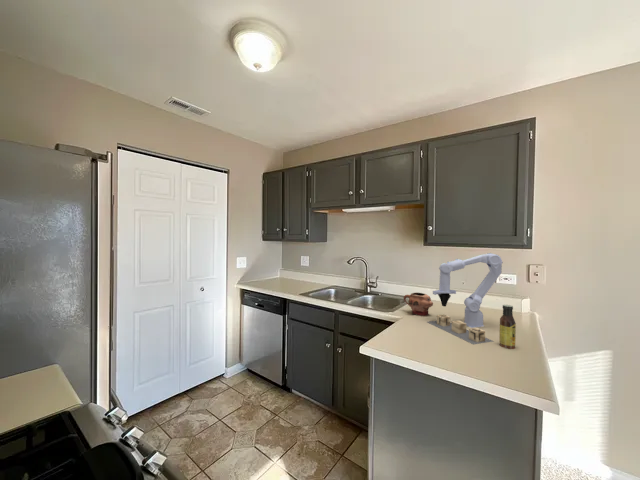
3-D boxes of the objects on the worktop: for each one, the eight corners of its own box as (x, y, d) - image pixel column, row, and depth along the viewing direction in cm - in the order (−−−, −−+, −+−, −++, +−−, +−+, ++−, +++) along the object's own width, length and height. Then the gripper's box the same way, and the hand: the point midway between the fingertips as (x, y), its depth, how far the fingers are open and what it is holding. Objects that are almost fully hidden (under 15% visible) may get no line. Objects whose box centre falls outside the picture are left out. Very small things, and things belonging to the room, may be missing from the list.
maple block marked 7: (476, 337, 137) (476, 327, 137) (485, 341, 133) (485, 330, 132) (468, 338, 136) (468, 328, 136) (477, 342, 131) (477, 332, 131)
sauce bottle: (515, 351, 122) (516, 308, 122) (499, 348, 126) (500, 306, 125) (514, 346, 128) (515, 305, 127) (499, 343, 131) (499, 303, 131)
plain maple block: (458, 329, 148) (459, 320, 148) (466, 332, 144) (466, 323, 143) (451, 330, 147) (451, 321, 147) (458, 333, 142) (458, 324, 142)
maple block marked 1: (443, 322, 159) (443, 314, 159) (450, 325, 155) (450, 316, 154) (436, 323, 158) (436, 314, 158) (442, 326, 153) (443, 317, 153)
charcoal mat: (443, 320, 165) (443, 319, 165) (494, 342, 132) (494, 341, 132) (426, 322, 161) (426, 321, 161) (473, 345, 129) (473, 344, 129)
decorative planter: (399, 313, 180) (399, 292, 179) (406, 309, 189) (406, 289, 189) (430, 319, 167) (430, 297, 167) (435, 314, 177) (436, 293, 176)
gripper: (438, 285, 154) (437, 308, 154) (460, 284, 157) (459, 307, 158) (430, 282, 161) (430, 305, 161) (451, 282, 164) (450, 304, 165)
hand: (443, 306), depth 160 cm, fingers closed
